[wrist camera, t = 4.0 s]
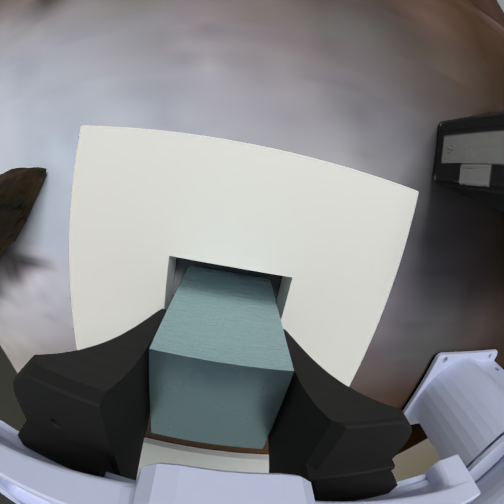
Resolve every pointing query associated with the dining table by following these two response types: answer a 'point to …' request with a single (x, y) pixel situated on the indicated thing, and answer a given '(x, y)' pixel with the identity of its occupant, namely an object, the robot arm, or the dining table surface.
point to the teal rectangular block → (219, 361)
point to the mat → (201, 457)
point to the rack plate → (232, 234)
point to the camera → (473, 157)
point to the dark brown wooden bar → (17, 201)
